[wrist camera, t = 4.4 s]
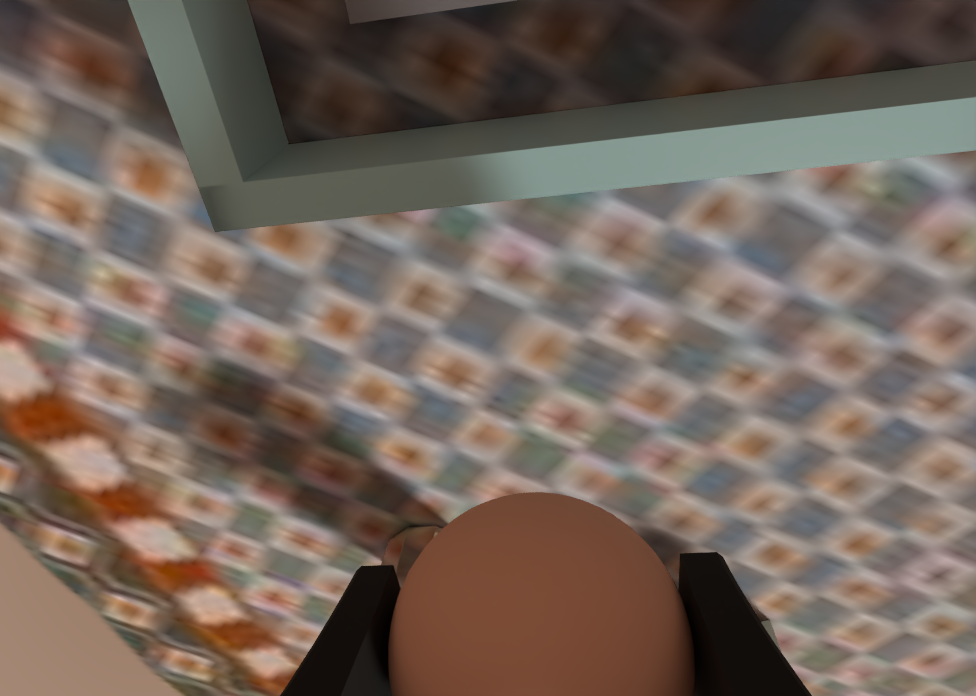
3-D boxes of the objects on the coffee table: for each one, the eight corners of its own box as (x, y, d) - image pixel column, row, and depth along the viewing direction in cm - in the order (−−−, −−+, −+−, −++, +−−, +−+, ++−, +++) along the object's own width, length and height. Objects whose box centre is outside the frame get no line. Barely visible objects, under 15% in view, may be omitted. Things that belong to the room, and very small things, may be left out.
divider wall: (1042, -172, 12) (1180, -203, 9) (970, 106, 15) (1063, 141, 12) (191, -37, 14) (115, -32, 11) (263, 188, 16) (215, 231, 14)
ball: (666, 424, 11) (749, 715, 7) (662, 603, 14) (720, 893, 10) (390, 442, 12) (311, 720, 8) (436, 611, 14) (397, 887, 10)
